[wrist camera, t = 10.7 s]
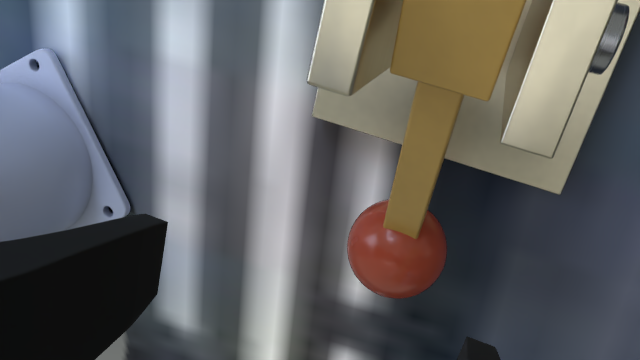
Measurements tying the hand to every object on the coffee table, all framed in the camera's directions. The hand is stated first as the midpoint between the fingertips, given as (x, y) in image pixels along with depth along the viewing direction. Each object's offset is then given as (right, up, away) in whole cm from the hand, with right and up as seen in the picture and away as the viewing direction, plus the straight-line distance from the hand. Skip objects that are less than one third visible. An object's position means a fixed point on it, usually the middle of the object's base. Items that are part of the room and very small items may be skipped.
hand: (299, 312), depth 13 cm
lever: (+4, +5, +4) cm, 7 cm away
